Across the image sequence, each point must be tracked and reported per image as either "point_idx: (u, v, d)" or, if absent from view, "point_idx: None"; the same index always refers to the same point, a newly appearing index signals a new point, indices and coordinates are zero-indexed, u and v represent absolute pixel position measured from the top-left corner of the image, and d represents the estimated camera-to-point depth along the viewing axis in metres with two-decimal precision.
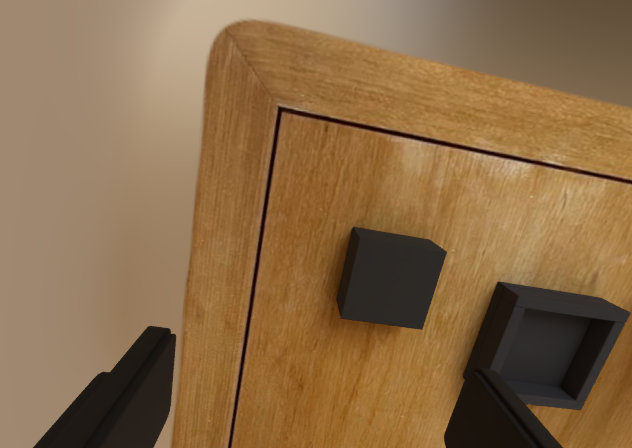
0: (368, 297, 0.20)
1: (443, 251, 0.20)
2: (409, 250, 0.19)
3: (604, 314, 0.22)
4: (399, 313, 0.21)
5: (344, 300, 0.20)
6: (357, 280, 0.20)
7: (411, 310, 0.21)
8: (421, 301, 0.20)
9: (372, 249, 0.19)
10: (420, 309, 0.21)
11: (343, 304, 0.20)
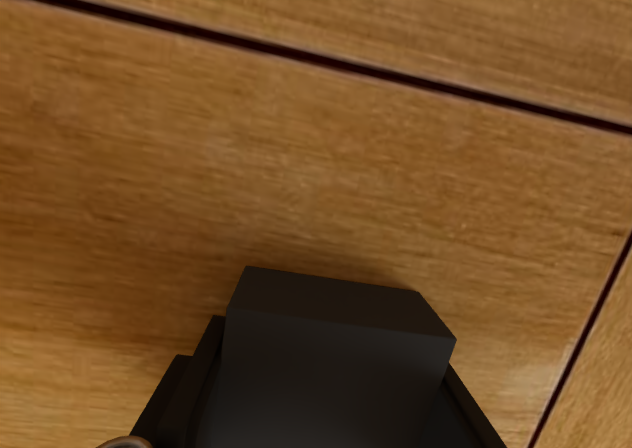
0: (292, 368, 0.08)
1: None
2: (412, 439, 0.09)
3: None
4: (249, 438, 0.08)
5: (281, 311, 0.07)
6: (342, 341, 0.08)
7: None
8: None
9: (423, 367, 0.08)
10: None
11: (269, 309, 0.07)
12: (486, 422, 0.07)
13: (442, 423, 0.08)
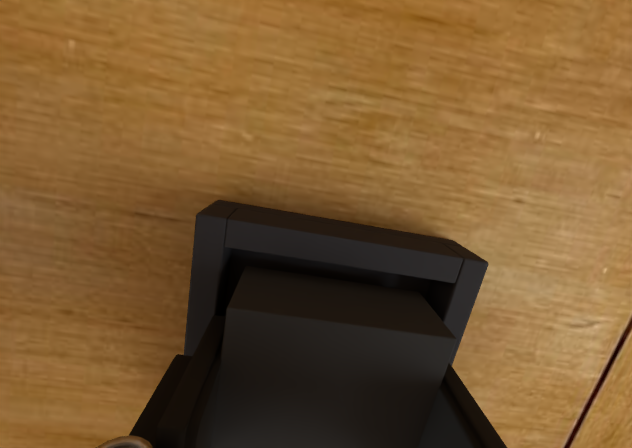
0: (292, 368, 0.08)
1: None
2: (411, 439, 0.09)
3: None
4: (248, 437, 0.08)
5: (282, 311, 0.07)
6: (342, 342, 0.08)
7: None
8: None
9: (423, 367, 0.08)
10: None
11: (269, 309, 0.07)
12: (486, 422, 0.07)
13: (442, 423, 0.08)
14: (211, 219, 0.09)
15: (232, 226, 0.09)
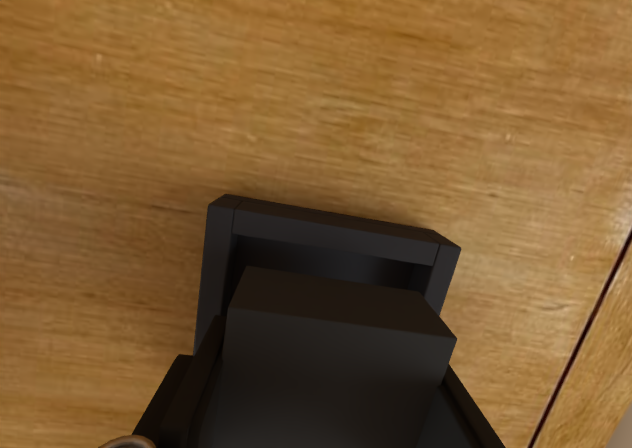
0: (293, 368, 0.08)
1: None
2: (412, 438, 0.09)
3: None
4: (249, 437, 0.08)
5: (282, 311, 0.07)
6: (343, 341, 0.08)
7: None
8: None
9: (424, 367, 0.08)
10: None
11: (270, 309, 0.07)
12: (484, 421, 0.07)
13: (440, 422, 0.08)
14: (221, 209, 0.10)
15: (239, 215, 0.10)
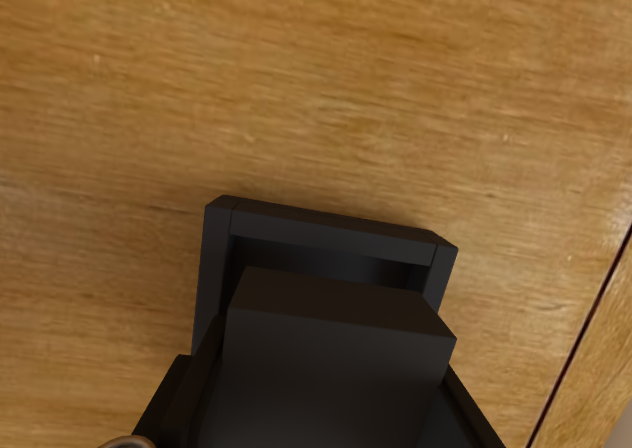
0: (293, 368, 0.08)
1: None
2: (412, 439, 0.09)
3: None
4: (249, 437, 0.08)
5: (282, 311, 0.07)
6: (343, 342, 0.08)
7: None
8: None
9: (424, 367, 0.08)
10: None
11: (269, 309, 0.07)
12: (484, 421, 0.07)
13: (441, 422, 0.08)
14: (218, 210, 0.10)
15: (236, 216, 0.10)
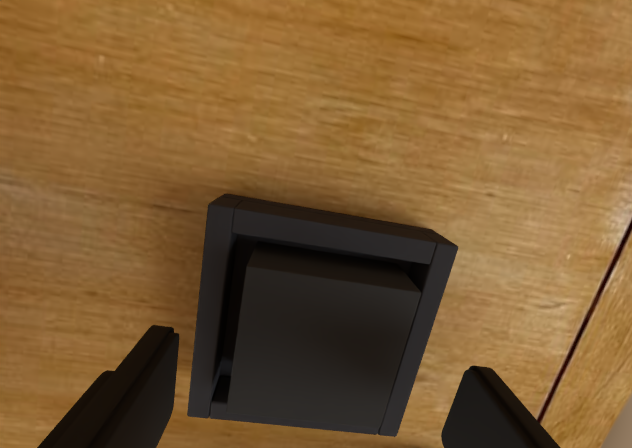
0: (295, 314, 0.10)
1: (379, 422, 0.12)
2: (388, 374, 0.11)
3: (398, 399, 0.13)
4: (261, 371, 0.11)
5: (287, 270, 0.10)
6: (333, 294, 0.10)
7: (267, 391, 0.11)
8: (286, 404, 0.11)
9: (396, 315, 0.10)
10: (270, 404, 0.11)
11: (277, 268, 0.10)
12: None
13: None
14: (221, 208, 0.10)
15: (238, 214, 0.10)
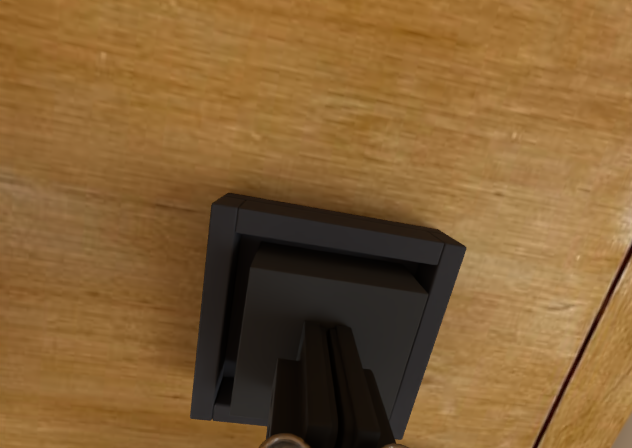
0: (299, 316, 0.10)
1: None
2: (394, 377, 0.11)
3: (404, 402, 0.12)
4: (265, 374, 0.10)
5: (292, 271, 0.10)
6: (338, 295, 0.10)
7: (270, 393, 0.11)
8: None
9: (402, 317, 0.10)
10: None
11: (282, 269, 0.10)
12: (367, 398, 0.07)
13: None
14: (224, 208, 0.10)
15: (242, 214, 0.10)
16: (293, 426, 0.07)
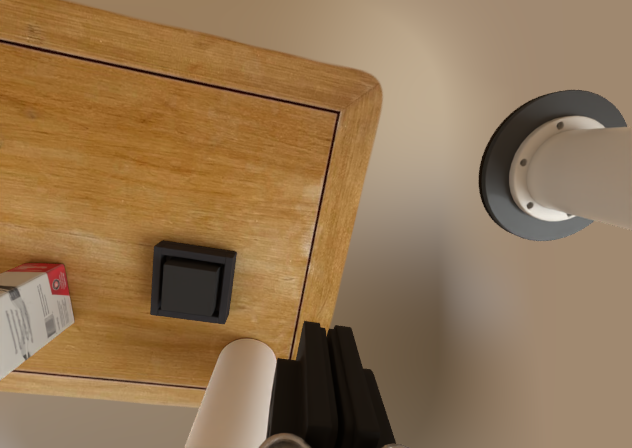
0: (179, 278, 0.34)
1: (211, 314, 0.36)
2: (210, 297, 0.35)
3: (222, 310, 0.37)
4: (170, 296, 0.35)
5: (176, 265, 0.34)
6: (189, 272, 0.34)
7: (172, 302, 0.35)
8: (179, 307, 0.35)
9: (209, 278, 0.35)
10: (174, 307, 0.35)
11: (173, 265, 0.34)
12: (367, 398, 0.07)
13: None
14: (157, 247, 0.34)
15: (163, 249, 0.35)
16: (293, 426, 0.07)
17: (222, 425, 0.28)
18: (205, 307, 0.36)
